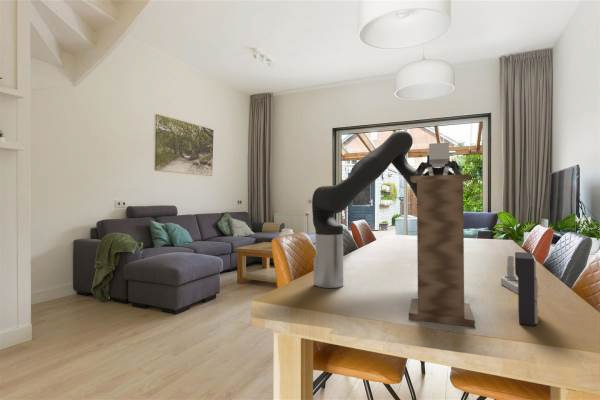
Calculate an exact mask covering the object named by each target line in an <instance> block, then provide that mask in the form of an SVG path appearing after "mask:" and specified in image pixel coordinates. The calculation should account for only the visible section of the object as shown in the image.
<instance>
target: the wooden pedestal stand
mask: <svg viewBox="0 0 600 400" xmlns="http://www.w3.org/2000/svg"><path fill="white" fill-rule="evenodd" d="M470 179H471V174H470V173H468V174H465V173H464V174H463V173H462V174H461V175H429V176H410V180H411V181H412V182H413V183H417V197H416V214H417V215H416V218H417V219H416V220H417V221H416V222H417V223H416V229H417V230H416V232H417V233H416V234H417V237H416V239H417V241H416V243H417V249H416V250H417V252H416V253H417V298H411V301H410V306H409V308H408V309H409V310H408V320H409V321H410V320H412V321H419V322H420V321H421V322H427V323H437V324H447V325H455V326H464V327H470V328H471V327H473V328H475V327H476V320H475V316H474V314H473V312H472V308H471V306H470V303H465V253H464V250H465V247H464V246H465V244H464V243H465V240H464V239H465V236H464V234H465V233H464V232H465V231H464V225H465V224H464V182H467V181H469V180H470Z"/></svg>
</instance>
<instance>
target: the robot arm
mask: <svg viewBox="0 0 600 400" xmlns="http://www.w3.org/2000/svg"><path fill="white" fill-rule="evenodd" d="M413 144H414V140H413V136H412V135H411V133H409V132H408V131H406V130H397V131H394V132H392V133H391V134H390V135H389V137H388V138H386V140H385V141H383V143H382V144H380V145H379V146H378V147H376V148H374V149H373V150H372V151H369V153H367V154H366V155H365V156H363V157H362V158H361V159H359V160H358V161H357V162H355V164H354V165H352V168H351V169H350V172H349V173H350V174H349V176H347V178H345V179H344V180H342V181H341V182H339V183H337V184H333V185H323V186H319V187H317V188H316V189H315V190H314V191H313V194H312V199H311V209H312V210H311V211H312V223H313V227H314V231H315V256H314V257H313V286H314V285H315V286H314V287H316V286H317V287H319V288H324V289H325V288H326V289H336V288H342V287H343V286H344V227H343V225H342V224H341V223H339V222H338V221H337V220H336V218H335V214H339V213H341V212H343V211H345V210H346V209H347V208H348V206H350V205H351V203H352V202H353V201H354V200H355V199H356V198H357V197H358V195H359V194H361V193H362V192H363V191H364V190H366V189H367V188H368V187H369V186H370V185H371V184H372V183H374V182H375V181H376V180H377V179H378V178H379V177H381V176H382V175H383V174H384V173H385V171H386V170H387V169H388V168H389V166H390V165H391V164H392V165H393V167H394V168H395V169H396V171H398V173H399V174H400V175H401V176H402V177H403V179H404V180H405V181H406V182H407V185H409V188H410V189H411V190H412V193H413V194H414V195H415V197H416V198H417V183H413V182H412V181H411V180H410V176H429V175H461V174H463V169H462V168H461V166H460V165H459V164H458V162H457V161H456V160H452V161H450V154H449V161H448V164H445V166H444V167H432V164H430V163H429V154H427V156H426V162H424V161H422V162H421V163H420V164H419V165H418V166H417V168H415V167H413V166H411V164H410V163H409V161H408V160H407V157H406V156H407V154H408V152H409V151H410V150H411V148H412V146H413ZM450 169H451V170H452V171H453V172H452V171H450ZM426 170H427V171H426ZM425 171H426V172H425Z"/></svg>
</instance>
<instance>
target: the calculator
mask: <svg viewBox="0 0 600 400" xmlns="http://www.w3.org/2000/svg"><path fill="white" fill-rule="evenodd" d="M514 274H515V276H516V278H518V294H517V297H518V298H517V302H518V303H517V305H518V307H517V309H518V311H517V313H518V324H519V325H525V326H530V327H531V326H532V327H535V326H536V324H539V323H538V322H539V318H538V314H539V310H538V309H539V308H538V305H539V304H538V294H539V282H538V279H537V260H536V258H535V255H533V253H532V252H522V251H521V252H520V251H515V252H514Z"/></svg>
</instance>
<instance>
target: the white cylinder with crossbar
mask: <svg viewBox="0 0 600 400" xmlns="http://www.w3.org/2000/svg"><path fill="white" fill-rule="evenodd" d="M428 148H429V149H428V155H429V163H430V164H432V167H434V168H440V167H444V166H445V164H448V161H449V155H450V142H437V143H436V142H435V143H434V142H433V143H432V142H431V143H429V144H428Z"/></svg>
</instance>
